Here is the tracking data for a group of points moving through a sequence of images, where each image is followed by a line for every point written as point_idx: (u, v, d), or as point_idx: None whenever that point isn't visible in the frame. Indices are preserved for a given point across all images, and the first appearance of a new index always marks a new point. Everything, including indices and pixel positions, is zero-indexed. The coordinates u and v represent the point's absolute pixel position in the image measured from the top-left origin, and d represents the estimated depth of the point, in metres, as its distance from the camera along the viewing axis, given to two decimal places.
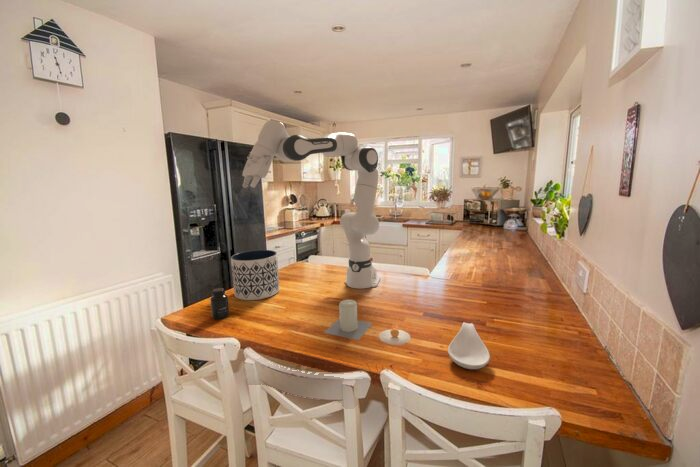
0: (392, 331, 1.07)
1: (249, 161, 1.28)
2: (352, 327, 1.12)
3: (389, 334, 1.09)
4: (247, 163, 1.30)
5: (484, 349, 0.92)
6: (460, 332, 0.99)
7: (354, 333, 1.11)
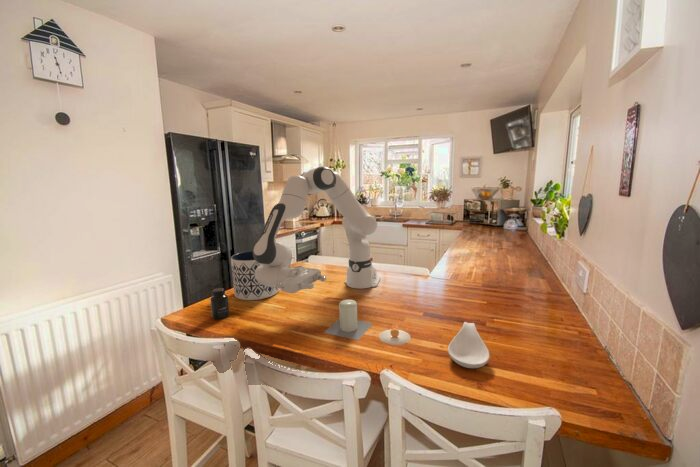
0: (392, 331, 1.07)
1: None
2: (352, 327, 1.12)
3: (389, 334, 1.09)
4: None
5: (484, 348, 0.93)
6: (461, 331, 0.99)
7: (354, 333, 1.11)
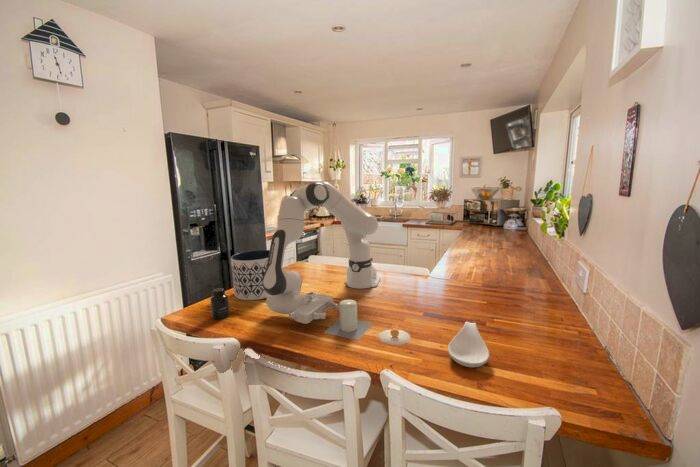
0: (392, 331, 1.07)
1: None
2: (352, 327, 1.12)
3: (389, 334, 1.09)
4: None
5: (484, 348, 0.93)
6: (461, 331, 1.00)
7: (354, 333, 1.11)
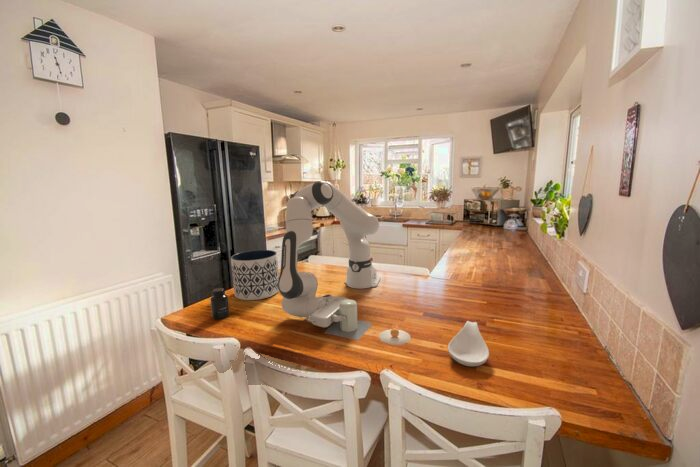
0: (392, 331, 1.07)
1: None
2: (352, 327, 1.12)
3: (389, 334, 1.09)
4: None
5: (484, 347, 0.93)
6: (462, 330, 1.00)
7: (354, 333, 1.11)
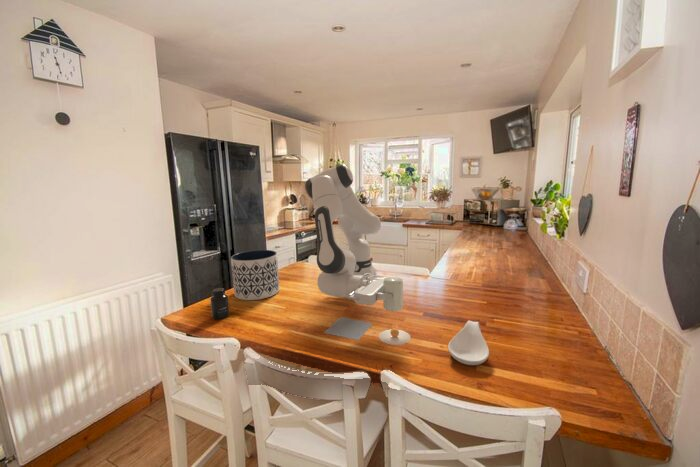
0: (392, 331, 1.07)
1: None
2: (398, 306, 1.03)
3: (389, 334, 1.09)
4: None
5: (485, 347, 0.94)
6: (463, 329, 1.01)
7: (354, 333, 1.11)
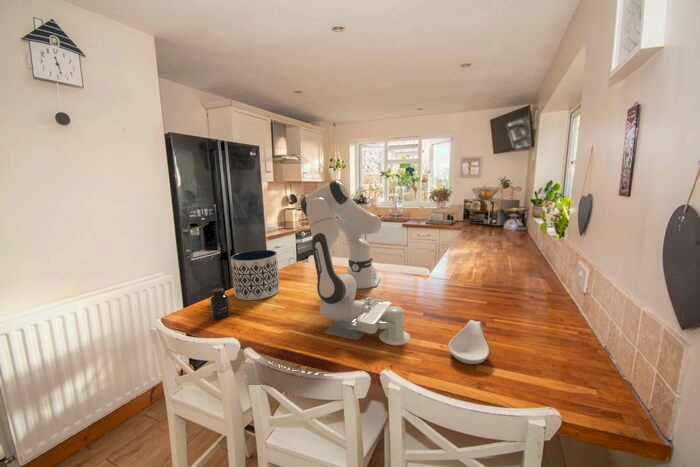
0: None
1: None
2: (399, 336, 1.05)
3: None
4: None
5: (485, 346, 0.94)
6: (464, 328, 1.01)
7: (354, 333, 1.11)
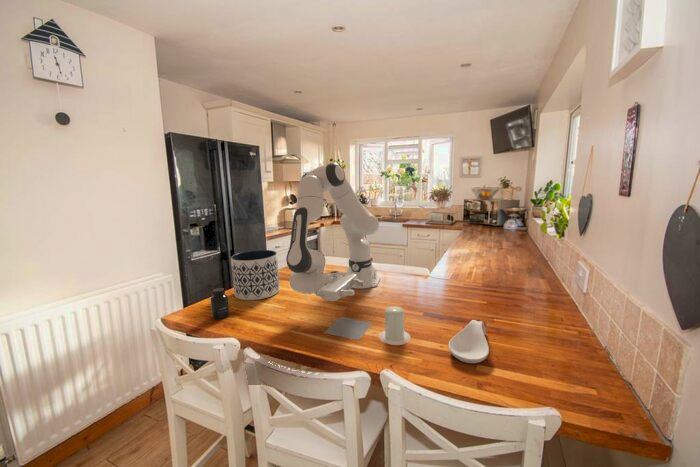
0: None
1: None
2: (399, 336, 1.05)
3: None
4: None
5: (485, 346, 0.94)
6: (466, 328, 1.01)
7: (354, 333, 1.11)
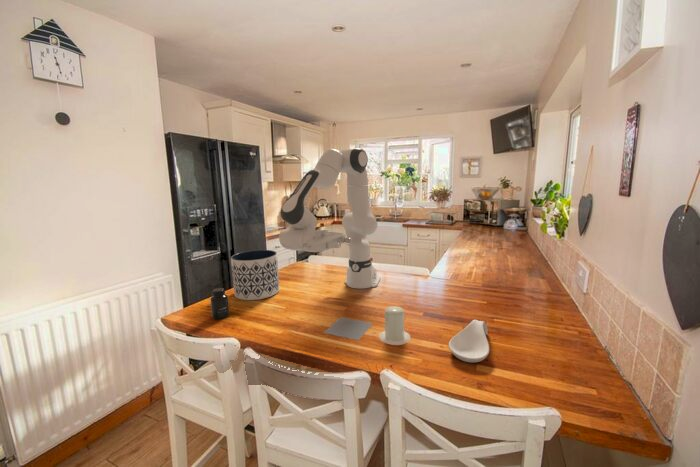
0: None
1: None
2: (399, 336, 1.05)
3: None
4: None
5: (486, 346, 0.94)
6: (467, 327, 1.02)
7: (354, 333, 1.11)
